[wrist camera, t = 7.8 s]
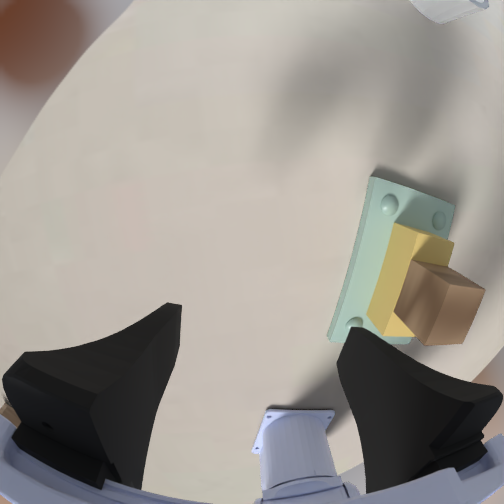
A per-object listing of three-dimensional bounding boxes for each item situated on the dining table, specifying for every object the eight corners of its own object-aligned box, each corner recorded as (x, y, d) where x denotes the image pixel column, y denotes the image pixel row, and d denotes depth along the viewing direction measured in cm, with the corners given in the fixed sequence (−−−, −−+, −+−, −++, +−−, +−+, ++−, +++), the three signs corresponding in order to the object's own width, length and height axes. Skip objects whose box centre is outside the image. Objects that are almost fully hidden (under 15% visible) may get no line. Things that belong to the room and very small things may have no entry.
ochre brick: (401, 316, 22) (420, 336, 18) (365, 314, 21) (382, 336, 18) (429, 232, 19) (454, 242, 16) (393, 222, 19) (418, 232, 16)
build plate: (404, 338, 24) (409, 344, 23) (326, 335, 23) (330, 342, 22) (448, 203, 20) (456, 205, 19) (369, 176, 19) (376, 176, 18)
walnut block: (430, 314, 18) (462, 343, 13) (393, 311, 17) (424, 345, 13) (447, 266, 17) (485, 289, 12) (410, 259, 16) (449, 284, 12)
